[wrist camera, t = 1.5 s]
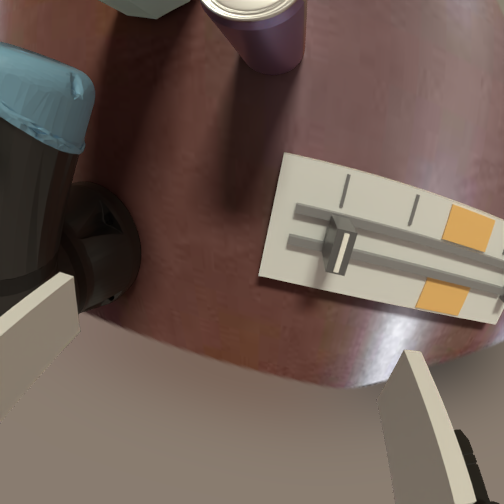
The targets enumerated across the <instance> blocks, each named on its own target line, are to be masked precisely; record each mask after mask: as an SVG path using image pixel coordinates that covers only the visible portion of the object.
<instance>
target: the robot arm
mask: <svg viewBox="0 0 504 504" xmlns="http://www.w3.org/2000/svg"><path fill="white" fill-rule="evenodd" d="M94 101H95V89H94V85H93V83H92V81H91V80H90V78H89V77H88V76H87V75H86V74H85V73H83V72H82V71H80V70H78V69H76V68H74V67H71V66H69V65H67V64H64V63H62V62H60V61H57V60H54V59H52V58H49V57H47V56H44V55H41V54H39V53H36V52H33V51H30V50H27V49H24V48H21V47H18V46H15V45H11V44H8V43H4V42H0V423H1V422H2V420H3V419H4V418H5V417H6V415H7V414H8V413H9V412H10V410H11V409H12V408H13V407H14V406H15V404H16V403H17V402H18V401H19V400H20V398H21V397H22V396H23V395H24V394H25V393H26V392H27V390H28V389H29V388H30V387H31V386H32V385H33V383H34V382H35V381H36V380H37V379H38V378H39V377H40V375H41V374H42V373H43V372H44V371H45V370H46V369H47V368H48V366H49V365H50V364H51V363H52V362H53V361H54V360H55V358H57V357H58V355H59V354H60V353H61V352H62V351H63V350H64V349H65V348H66V347H67V346H68V345H69V344H70V342H71V341H72V340H73V339H74V338H75V337H76V336H77V335H78V334H79V333H80V325H79V317H78V314H79V313H81V312H85V311H88V310H91V309H94V308H97V307H100V306H103V305H106V304H109V303H111V302H113V301H115V300H116V299H118V298H119V297H120V296H121V295H122V294H123V293H124V292H125V291H126V290H127V289H128V288H129V287H130V286H131V285H132V284H133V282H134V280H135V279H136V276H137V274H138V271H139V267H140V261H141V247H140V240H139V236H138V232H137V229H136V226H135V223H134V221H133V219H132V217H131V215H130V213H129V212H128V210H127V209H126V207H125V206H124V205H123V203H122V202H121V201H120V200H119V199H118V198H117V197H116V196H115V195H114V194H113V193H112V192H110V191H109V190H108V189H106V188H104V187H102V186H100V185H98V184H95V183H91V182H76V183H72V180H73V175H74V171H75V168H76V164H77V160H78V157H79V154H81V153H82V152H83V151H84V148H85V141H84V138H85V134H86V130H87V126H88V123H89V119H90V116H91V112H92V109H93V105H94ZM376 400H377V405H378V410H379V414H380V419H381V424H382V429H383V434H384V439H385V445H386V450H387V456H388V461H389V467H390V473H391V480H392V485H393V493H394V499H395V504H499V503H497V502H490V500H489V498H488V495H487V491H486V489H485V485H484V482H483V479H482V476H481V473H480V470H479V467H478V465H477V464H476V462H477V461H476V458H475V455H473V450H472V447H471V445H470V442H469V440H468V438H467V437H466V436H465V435H464V434H463V432H462V431H461V430H453V427H452V425H451V422H450V420H449V417H448V414H447V412H446V409H445V407H444V404H443V402H442V399H441V397H440V394H439V392H438V390H437V387H436V385H435V383H434V380H433V378H432V376H431V373H430V371H429V369H428V367H427V364H426V362H425V360H424V358H423V356H422V353H421V352H419V351H411V350H404V351H403V353H402V355H401V357H400V358H399V360H398V362H397V364H396V366H395V368H394V370H393V372H392V373H391V375H390V377H389V379H388V381H387V382H386V384H385V386H384V388H383V389H382V391H381V393H380V394H379V396H378V398H377V399H376Z"/></svg>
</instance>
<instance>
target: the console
mask: <svg viewBox="0 0 504 504" xmlns="http://www.w3.org/2000/svg"><path fill="white" fill-rule="evenodd" d="M332 214H333V215H337V216H341V217H345V218H349V219H350V221H351V223H352V224H353V226H354V228H355V230H356V231H357V233H358V234H357V237H356V241H355V244H354V247H353V250H352V254H351V257H350V260H349V263H348V267H347V270H346V273H345V276H342V275H337V274H333V273H328V272H325V268H324V262H323V256H322V249H323V246H324V242H325V238H326V235H327V231H328V227H329V223H330V219H331V216H332ZM258 276H263V277H267V278H271V279H276V280H280V281H285V282H289V283H294V284H298V285H303V286H307V287H312V288H316V289H321V290H326V291H330V292H335V293H340V294H344V295H349V296H354V297H358V298H363V299H368V300H373V301H378V302H382V303H387V304H392V305H397V306H402V307H407V308H412V309H417V310H422V311H427V312H432V313H437V314H442V315H448V316H453V317H458V318H463V319H468V320H474V321H479V322H485V323H490V324H495V325H496V323H497V321H498V319H499V317H500V315H501V313H502V311H503V309H504V220H503V219H501V218H498V217H496V216H494V215H491V214H489V213H486V212H484V211H481V210H479V209H476V208H473V207H471V206H468V205H466V204H463V203H460V202H458V201H455V200H452V199H449V198H446V197H444V196H441V195H438V194H435V193H432V192H429V191H426V190H423V189H420V188H417V187H414V186H411V185H408V184H405V183H401V182H398V181H395V180H392V179H388V178H385V177H382V176H378V175H375V174H371V173H368V172H364V171H360V170H357V169H353V168H349V167H345V166H342V165H338V164H334V163H330V162H326V161H322V160H317V159H313V158H309V157H305V156H300V155H296V154H291V153H286V152H285V153H284V156H283V160H282V165H281V170H280V175H279V180H278V185H277V190H276V194H275V199H274V204H273V209H272V214H271V218H270V223H269V228H268V233H267V237H266V242H265V247H264V252H263V256H262V261H261V266H260V270H259V275H258Z"/></svg>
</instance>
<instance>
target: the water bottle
mask: <svg viewBox="0 0 504 504" xmlns="http://www.w3.org/2000/svg"><path fill="white" fill-rule="evenodd" d="M99 1H101V2H103V3H105V4H107V5H109V6H111V7H113V8H114V9H116V10H118V11H120V12H122V13H123V14H125V15H127V16H136V17H144V18H151V19H158V18H160V17H161V16H163V15H165V14H167V13H168V12H170V11H172V10H174V9H176V8H178V7H180V6H182V5H184V4H185V3H187V2H189V1H190V0H99Z"/></svg>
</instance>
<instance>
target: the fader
mask: <svg viewBox="0 0 504 504" xmlns="http://www.w3.org/2000/svg"><path fill="white" fill-rule="evenodd" d="M357 234H358V233H357V231H356V230H355V228H354V226H353V224H352V223H351V221H350V219H349V218H345V217H341V216H337V215H333V214H332V216H331V219H330V223H329V227H328V231H327V235H326V238H325V242H324V246H323V249H322V256H323V262H324V268H325V272H328V273H333V274H337V275H342V276H345V273H346V270H347V267H348V263H349V260H350V257H351V254H352V250H353V247H354V244H355V241H356V237H357Z"/></svg>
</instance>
